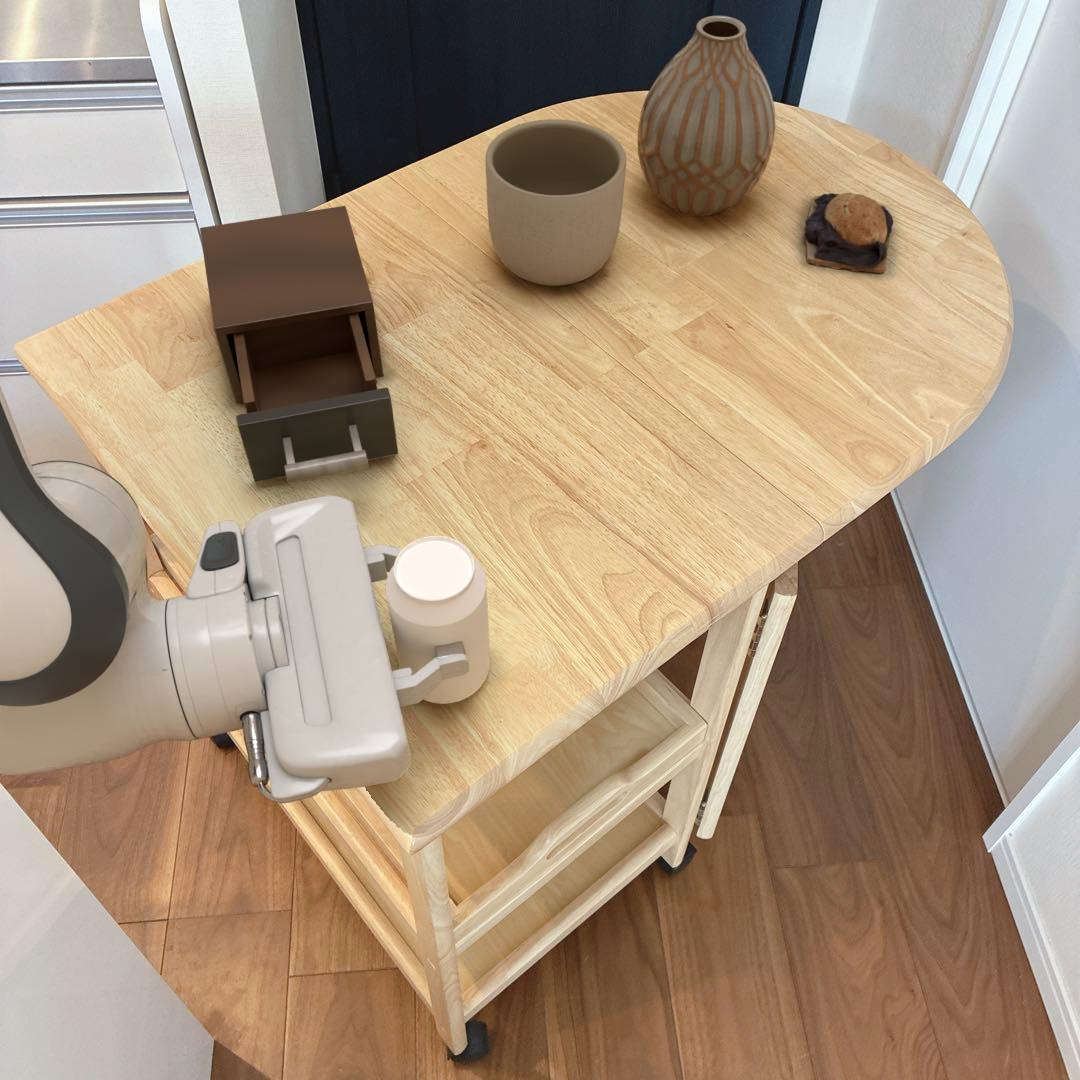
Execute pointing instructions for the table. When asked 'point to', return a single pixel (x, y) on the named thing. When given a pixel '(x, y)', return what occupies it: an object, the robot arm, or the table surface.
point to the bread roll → (848, 232)
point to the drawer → (311, 400)
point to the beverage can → (440, 611)
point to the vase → (707, 122)
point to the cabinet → (285, 278)
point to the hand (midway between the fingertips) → (452, 607)
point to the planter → (554, 199)
